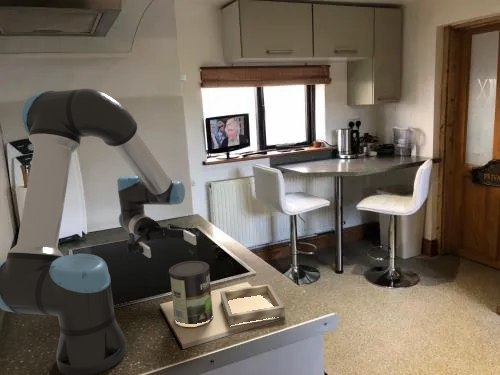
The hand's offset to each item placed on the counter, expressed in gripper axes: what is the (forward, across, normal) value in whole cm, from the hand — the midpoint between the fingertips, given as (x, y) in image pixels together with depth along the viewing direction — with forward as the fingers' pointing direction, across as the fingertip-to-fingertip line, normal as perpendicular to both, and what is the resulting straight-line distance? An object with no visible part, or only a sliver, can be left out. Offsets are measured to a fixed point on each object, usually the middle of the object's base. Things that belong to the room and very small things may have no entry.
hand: (172, 246), depth 116 cm
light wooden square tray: (+17, -14, -17) cm, 27 cm away
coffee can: (+10, +1, -17) cm, 20 cm away
